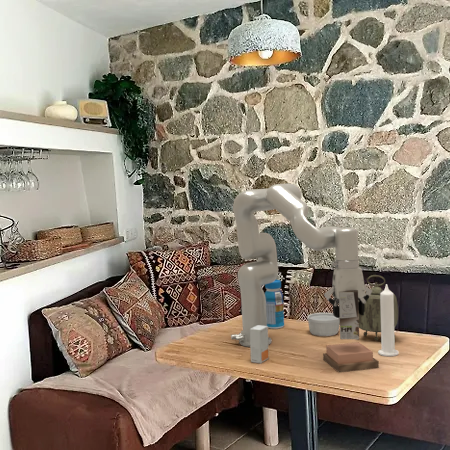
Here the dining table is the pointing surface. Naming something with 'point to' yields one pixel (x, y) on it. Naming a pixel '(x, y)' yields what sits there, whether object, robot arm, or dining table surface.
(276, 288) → the beverage bottle
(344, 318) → the coffee box
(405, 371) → the dining table surface
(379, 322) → the tabletop clock
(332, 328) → the ramekin
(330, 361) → the tower base block
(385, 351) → the candle
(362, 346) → the tower top block
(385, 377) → the dining table surface
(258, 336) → the skincare box
